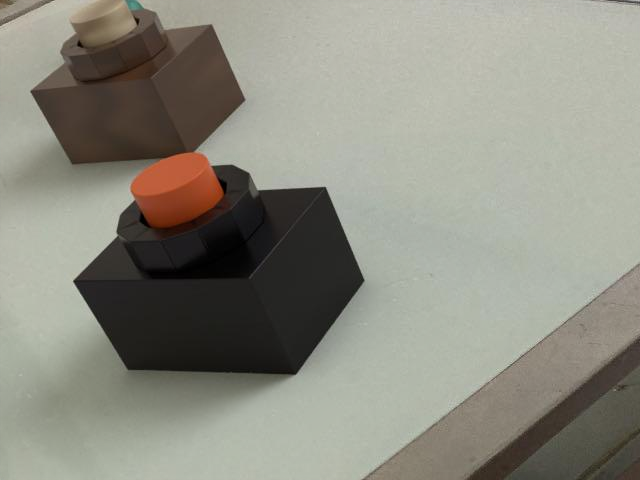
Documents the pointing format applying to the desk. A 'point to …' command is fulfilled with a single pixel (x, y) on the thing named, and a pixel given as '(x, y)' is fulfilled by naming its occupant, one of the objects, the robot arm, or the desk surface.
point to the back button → (102, 22)
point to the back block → (139, 93)
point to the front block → (225, 282)
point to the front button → (176, 190)
